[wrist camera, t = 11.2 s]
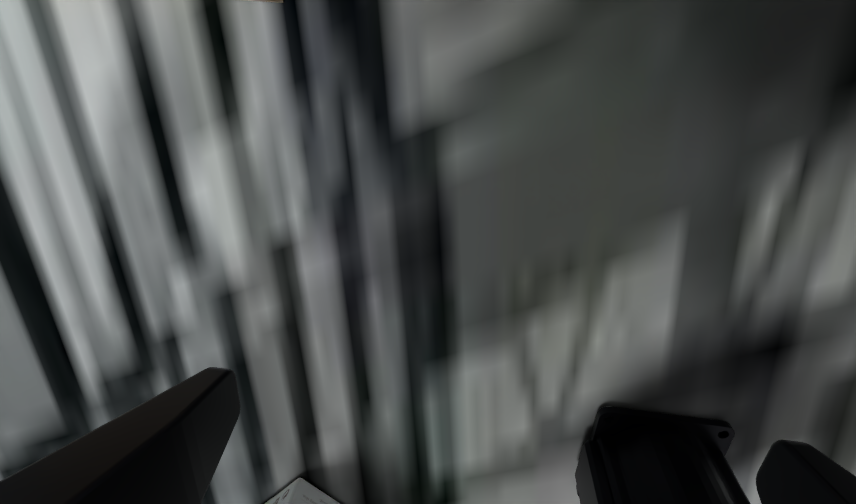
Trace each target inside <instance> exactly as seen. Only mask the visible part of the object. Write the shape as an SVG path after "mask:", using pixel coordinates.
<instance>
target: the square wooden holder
mask: <svg viewBox="0 0 856 504" xmlns="http://www.w3.org/2000/svg"><path fill="white" fill-rule="evenodd" d="M245 1H262V2H279V3H283V0H245Z"/></svg>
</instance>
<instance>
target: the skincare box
mask: <svg viewBox="0 0 856 504" xmlns="http://www.w3.org/2000/svg"><path fill="white" fill-rule="evenodd" d="M265 504H340V503H338V502H337V501H335V500H334V499H332V498H331V497H329V496H328V495H326V494H325V493H323V492H322V491H320V490H319V489H317V488H316V487H314V486H313V485H311V484H310V483H308V482H307V481H305V480H304V479H302V478H298V479H296V480H295V481H294V482H292V483H291V484H290V485H289V486H288V487H286V488H285V489H284V490H282V491H281V492H280V493H278V494H277V495H276V496H274V497H273V498H271V499H270V500H269V501H267V502H266V503H265Z"/></svg>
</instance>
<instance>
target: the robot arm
mask: <svg viewBox="0 0 856 504" xmlns="http://www.w3.org/2000/svg"><path fill="white" fill-rule="evenodd" d="M239 413H240V399H239V393H238V387H237V381H236V376H235V373H234V372H233V371H232V370H230V369H224V368H217V367H210V368H207V369H205V370H203V371H201V372H199V373H197V374H196V375H194V376H192V377H190V378H188V379H186V380H185V381H183V382H181V383H179V384H177V385H175V386H174V387H172V388H170V389H168V390H166V391H164V392H163V393H161V394H159V395H157V396H155V397H153V398H152V399H150V400H148V401H146V402H144V403H143V404H141V405H139V406H137V407H135V408H133V409H132V410H130V411H128V412H126V413H124V414H122V415H121V416H119V417H117V418H115V419H113V420H111V421H110V422H108V423H106V424H104V425H102V426H100V427H99V428H97V429H95V430H93V431H91V432H90V433H88V434H86V435H84V436H82V437H80V438H79V439H77V440H75V441H73V442H71V443H69V444H68V445H66V446H64V447H62V448H60V449H58V450H57V451H55V452H53V453H51V454H49V455H48V456H46V457H44V458H42V459H40V460H38V461H37V462H35V463H33V464H31V465H29V466H27V467H26V468H24V469H22V470H20V471H18V472H16V473H15V474H13V475H11V476H9V477H7V478H5V479H4V480H2V481H0V504H201V502H202V499H203V497H204V495H205V493H206V491H207V489H208V486H209V484H210V482H211V479H212V477H213V475H214V473H215V470H216V468H217V466H218V463H219V461H220V459H221V456H222V454H223V452H224V450H225V447H226V445H227V443H228V440H229V438H230V436H231V433H232V431H233V429H234V427H235V424H236V422H237V420H238V417H239ZM607 416H611V417H609V418H605V417H607ZM721 431H722V432H721ZM734 434H735V433H734V430H733V429H732V427H731V426H730V424H729V423H727V422H725V421H719V420H711V419H703V418H695V417H687V416H679V415H672V414H664V413H656V412H648V411H640V410H632V409H624V408H617V407H603V408H601V409H600V410H599V411H598V412H597V416H596V419H595V423H594V426H593V430H592V433H591V437H590V440H587V441H586V442H585V443H584V444H583V448H582V451H581V455H580V458H579V462H578V466H577V469H576V473H575V478H576V483H577V485H576V489H577V494H578V496H579V498H580V504H750V502H749V500H748V498H747V496H746V495H745V493H744V491H743V489H742V487H741V486H740V484H739V482H738V480H737V478H736V476H735V475H734V473H733V471H732V469H731V467H730V466H729V464H728V462H727V460H726V458H725V457H724V456H725V454H726V452H727V450H728V448H729V446H730V444H731V442H732V440H733V437H734ZM756 486H757V491H758V494H759V497H760V500H761V503H762V504H856V476H854V475H853V474H851V473H850V472H848V471H847V470H846V469H844V468H843V467H841V466H840V465H838V464H837V463H835V462H834V461H833V460H831V459H830V458H828V457H827V456H825V455H824V454H823V453H821V452H820V451H818V450H817V449H815V448H814V447H812V446H811V445H809V444H807V443H803V442H796V441H788V440H778V441H776V442H775V443H773V445H772V446H771V448H770V450H769V452H768V454H767V456H766V457H765V459H764V461H763V463H762V465H761V467H760V469H759V471H758V473H757V477H756Z"/></svg>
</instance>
